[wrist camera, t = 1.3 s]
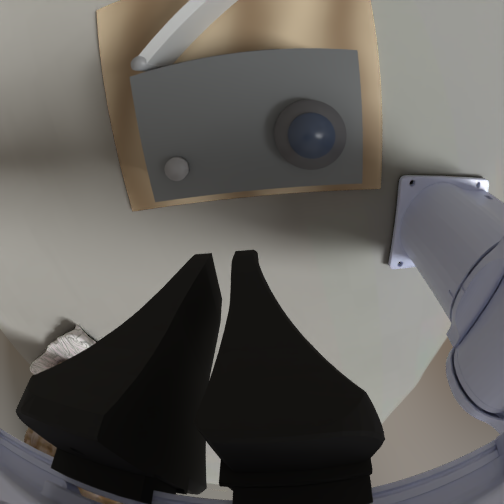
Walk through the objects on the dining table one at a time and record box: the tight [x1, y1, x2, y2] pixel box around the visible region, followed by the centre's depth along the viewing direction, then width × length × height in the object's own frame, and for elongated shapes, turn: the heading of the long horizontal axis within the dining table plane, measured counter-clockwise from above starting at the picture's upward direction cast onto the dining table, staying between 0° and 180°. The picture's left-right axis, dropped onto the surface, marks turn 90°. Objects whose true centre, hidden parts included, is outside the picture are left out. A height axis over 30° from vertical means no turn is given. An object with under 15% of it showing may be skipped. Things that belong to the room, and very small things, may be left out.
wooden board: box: [97, 0, 382, 211], centre depth 15 cm, size 18×16×1 cm
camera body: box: [130, 48, 363, 202], centre depth 14 cm, size 11×7×5 cm, turn 96°
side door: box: [131, 0, 238, 72], centre depth 11 cm, size 7×2×4 cm, turn 136°
